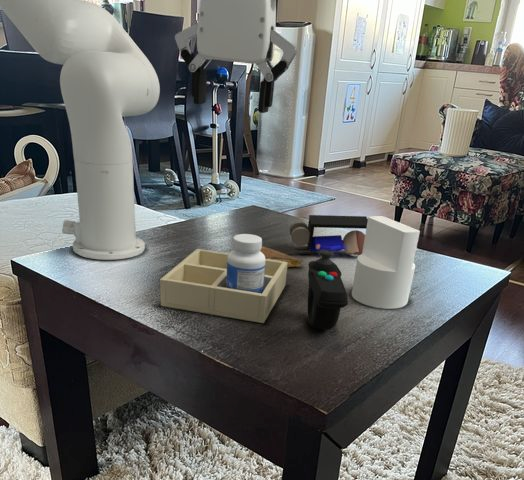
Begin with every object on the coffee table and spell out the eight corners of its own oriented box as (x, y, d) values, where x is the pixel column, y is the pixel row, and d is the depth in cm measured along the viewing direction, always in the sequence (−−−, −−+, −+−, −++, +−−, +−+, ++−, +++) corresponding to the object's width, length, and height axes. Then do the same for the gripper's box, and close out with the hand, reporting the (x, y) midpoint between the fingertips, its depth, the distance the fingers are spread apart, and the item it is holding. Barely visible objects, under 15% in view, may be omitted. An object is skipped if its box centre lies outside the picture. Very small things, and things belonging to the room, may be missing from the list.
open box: (160, 305, 77) (160, 279, 75) (196, 271, 90) (197, 248, 88) (263, 323, 74) (266, 296, 73) (285, 285, 88) (287, 261, 86)
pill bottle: (224, 294, 80) (227, 231, 76) (260, 295, 81) (264, 232, 76) (226, 309, 76) (229, 242, 71) (264, 310, 76) (269, 244, 72)
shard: (302, 268, 96) (303, 258, 95) (273, 277, 91) (274, 267, 90) (259, 252, 102) (260, 243, 101) (230, 259, 97) (230, 250, 96)
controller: (329, 311, 80) (338, 246, 75) (343, 350, 69) (355, 277, 64) (300, 309, 80) (308, 244, 75) (310, 348, 69) (320, 275, 64)
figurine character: (291, 263, 102) (370, 260, 102) (290, 224, 98) (372, 221, 98) (289, 252, 108) (364, 249, 108) (289, 215, 104) (365, 212, 104)
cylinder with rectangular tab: (419, 304, 85) (436, 230, 79) (375, 312, 81) (389, 234, 75) (383, 284, 92) (396, 214, 86) (340, 290, 88) (351, 217, 82)
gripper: (311, -28, 70) (294, 114, 78) (188, -38, 73) (185, 99, 82) (299, -38, 64) (282, 117, 72) (165, -48, 67) (164, 101, 75)
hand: (231, 107), depth 77 cm, fingers open, 9 cm apart
